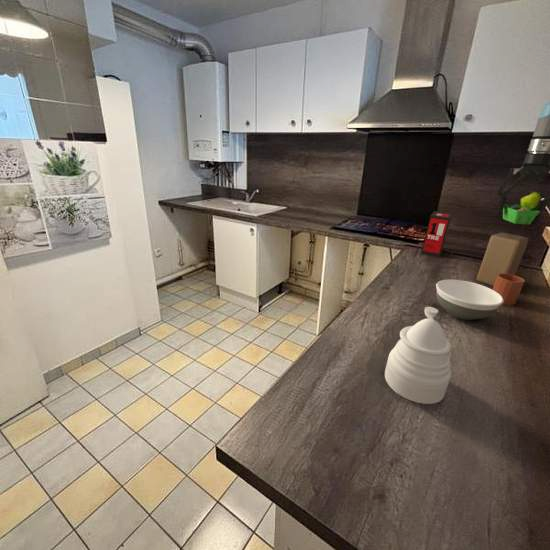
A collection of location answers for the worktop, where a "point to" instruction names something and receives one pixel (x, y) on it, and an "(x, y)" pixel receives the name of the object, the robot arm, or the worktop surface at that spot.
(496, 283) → the terracotta plant pot
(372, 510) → the worktop surface
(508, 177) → the robot arm
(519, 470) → the worktop surface
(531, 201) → the fruit basket
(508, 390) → the worktop surface
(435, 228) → the cleaning product box
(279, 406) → the worktop surface
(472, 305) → the bowl
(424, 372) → the honey pot
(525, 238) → the wooden block
